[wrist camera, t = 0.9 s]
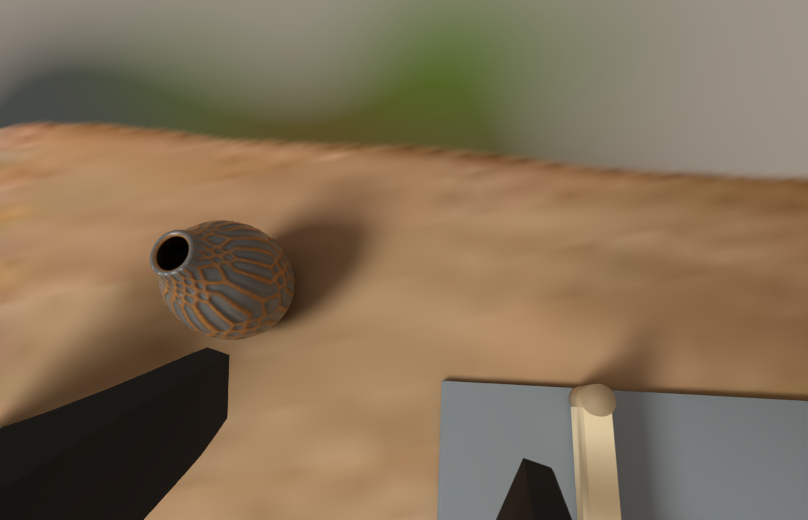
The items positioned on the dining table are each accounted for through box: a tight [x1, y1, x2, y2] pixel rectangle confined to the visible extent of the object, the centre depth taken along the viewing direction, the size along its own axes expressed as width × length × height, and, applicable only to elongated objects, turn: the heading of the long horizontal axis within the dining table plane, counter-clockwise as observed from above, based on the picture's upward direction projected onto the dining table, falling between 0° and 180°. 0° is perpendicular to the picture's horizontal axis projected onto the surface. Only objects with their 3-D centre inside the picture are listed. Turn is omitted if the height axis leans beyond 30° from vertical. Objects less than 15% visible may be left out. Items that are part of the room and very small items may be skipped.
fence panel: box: [568, 384, 621, 520], centre depth 19 cm, size 9×1×4 cm, turn 176°
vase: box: [150, 221, 295, 340], centre depth 24 cm, size 7×7×9 cm
